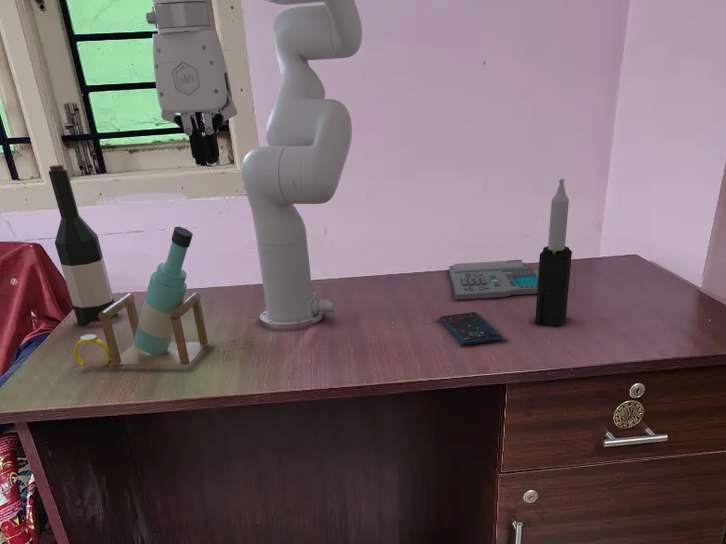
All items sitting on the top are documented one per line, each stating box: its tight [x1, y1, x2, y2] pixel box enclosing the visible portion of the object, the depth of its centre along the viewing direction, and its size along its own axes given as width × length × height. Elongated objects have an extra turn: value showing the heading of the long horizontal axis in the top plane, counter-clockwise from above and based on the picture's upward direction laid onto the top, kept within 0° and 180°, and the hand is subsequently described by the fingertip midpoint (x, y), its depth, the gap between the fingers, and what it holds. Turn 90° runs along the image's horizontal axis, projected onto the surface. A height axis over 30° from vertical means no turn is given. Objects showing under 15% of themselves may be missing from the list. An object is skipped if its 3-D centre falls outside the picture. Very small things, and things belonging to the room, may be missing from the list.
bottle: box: [133, 226, 194, 355], centre depth 123 cm, size 14×6×22 cm, turn 82°
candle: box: [534, 178, 573, 327], centre depth 128 cm, size 5×5×25 cm
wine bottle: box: [48, 164, 119, 327], centre depth 143 cm, size 8×8×30 cm
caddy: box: [98, 292, 210, 366], centre depth 127 cm, size 15×11×10 cm
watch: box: [73, 333, 111, 366], centre depth 126 cm, size 6×3×6 cm, turn 93°
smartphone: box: [439, 311, 503, 346], centre depth 133 cm, size 8×1×15 cm
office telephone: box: [448, 259, 539, 300], centre depth 157 cm, size 23×3×20 cm
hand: (207, 162), depth 110 cm, fingers closed
